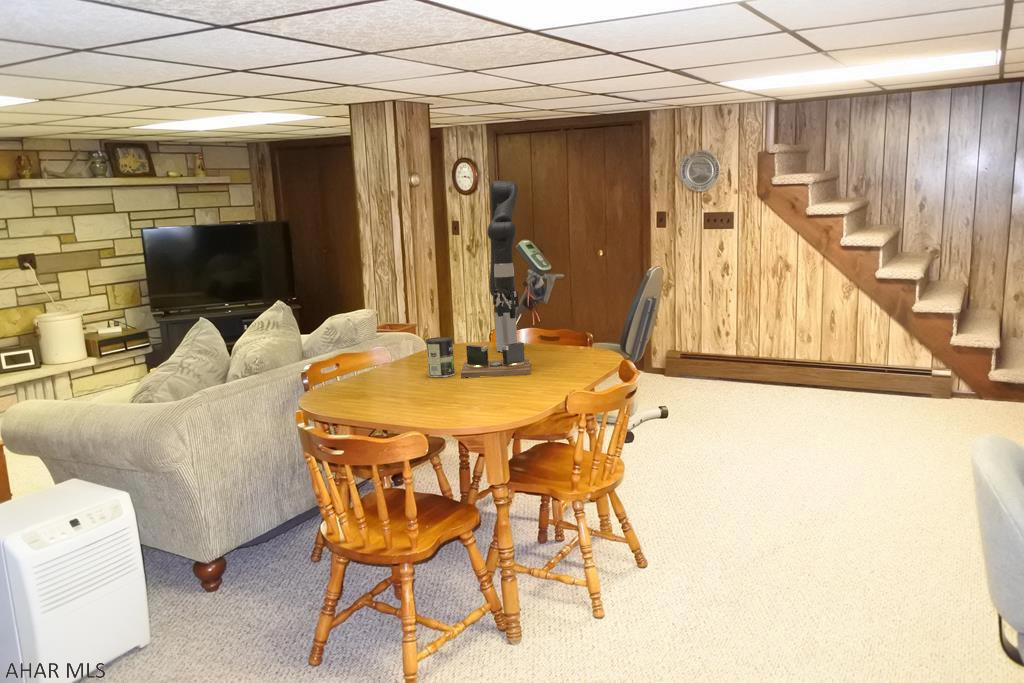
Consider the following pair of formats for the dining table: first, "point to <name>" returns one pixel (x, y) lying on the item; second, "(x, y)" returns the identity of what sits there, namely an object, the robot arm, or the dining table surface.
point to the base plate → (496, 369)
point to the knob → (513, 354)
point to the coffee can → (440, 357)
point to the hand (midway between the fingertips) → (506, 317)
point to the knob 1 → (477, 356)
